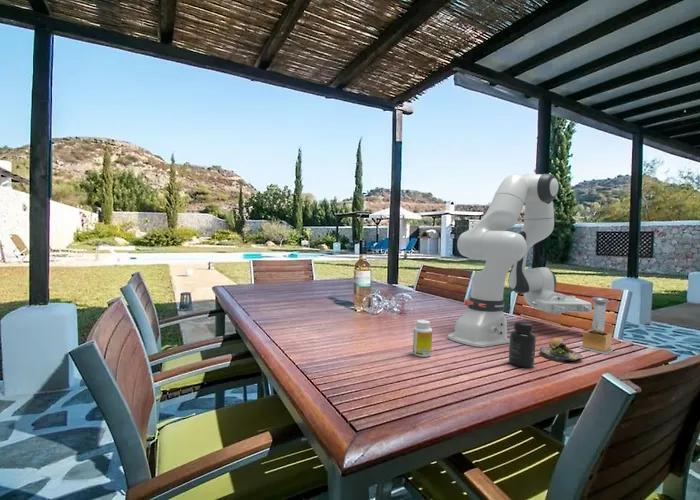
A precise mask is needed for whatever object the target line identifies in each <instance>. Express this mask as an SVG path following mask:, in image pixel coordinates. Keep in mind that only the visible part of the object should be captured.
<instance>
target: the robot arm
mask: <svg viewBox="0 0 700 500" xmlns="http://www.w3.org/2000/svg"><path fill="white" fill-rule="evenodd" d="M559 191H560V183H559V180H558V178H557V177H556V176H555V174H551V173H543V174H541V173H540V174H539V173H537V174H535V173H534V174H529V173H528V174H521V175H520V174H519V175H518V174H511V175H507V176H506V177H505V178H504V179H503V180H502V182H501V183H500V185H499V186H498V188H497V190H496V192H495V193H494V196H493V198H492V200H491V203H490V204H489V206H488V209H487V211H486V212H485V214H484V215H483V217H482V218H481V219H480V220H479V221H477V223H476V224H475V225H473V226H472V227H471V228H469V229H468V230H466V231H464V232H462V233H461V234H459V237H458V239H457V242H456V246H457V251H458V252H459V254H460V255H461V256H463V257H464V258H465V257H466V258H468V259H471V260H478V261H479V260H481V261H485V264H484V267H483V268H482V270H481V269H480V270H479V271H477V272H476V273H474V274H473V276H472V278H471V292H470V297H469V299H464V300H463V301H464V302H463V305H465V306H467V308H466V310H465V311H464V312H463V313H462V314H461V315H460V316H459V317H458V319H457V320H456V321H455V326H454V331H453V332H450V333H449V334H447V337H446V338H447V339H449V340H450V341H453V342H456V343H460V344H463V345H467V346H470V347H471V346H472V347H476V348H485V347H486V348H487V347H492V346H497V345H504V344H505V345H506V344H510V338H508V331H507V330H508V324H507V323H508V322H507V318H506V315H505V314H504V310H505V300H504V291H505V285H506V284H505V283H506V278H507V276H508V280H507V282H508V283H507V284H508V286H509V289H511V291H513V292H514V293H516V294H517V295H522V294H523V299H524V301H525V302H526V303H527V305H529V306H530V307H532V308H534V309H536V310H538V311H540V312H544V313H548V314H550V315H555V316H556V315H559V314H564V313H585V314H590V313H592V310H593V304H592V302H590V301H587V300H584V299H581V298H577V297H576V296H575V295H569V294H563V293H561V292H556V288H557V277H556V275H555V273H554V272H553V270H552V269H550V268H549V267H547V266H544V267H543V266H541V267H533V268H526V265H527V258H528V253H529V250H530V248H532V247H533V246H534V245H535V244H537V243H539V242H541V241H543V240H545V239H546V238H548V237H549V236H550V235H551V234H552V233H553V231H554V228H555V209H554V203H553V200H555V199H556V198H557V196H558V193H559ZM523 208H524V219H523V221H524V222H523V226H522V228H521V230H520V231H519V232H514V231H510V230H509V229H511V228H513V227H514V226H516V224H517V223H518V221H519V218H520V216H521V213H522V211H523ZM508 230H509V231H508ZM509 271H510V272H509ZM508 273H509V275H508Z"/></svg>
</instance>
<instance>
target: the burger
mask: <svg viewBox="0 0 700 500" xmlns="http://www.w3.org/2000/svg"><path fill="white" fill-rule="evenodd" d="M552 336H553V338H552V339H551V340H550V341H549V346H541V347H539V350H540V352H538V354H539V355H540V356H541V357H542V358H545V359H547V360H549V361H555V362H559V363H564V362H565V361H577V360H579V359H582V357H583V355H582V354H581V353H579V352H577V351H574V350H573V349H570V348H569V347H568V346H567V344H565V343H563V341H564V339H562V338H561V337H560V338H559V337H554V335H552Z"/></svg>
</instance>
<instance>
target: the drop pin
mask: <svg viewBox="0 0 700 500" xmlns="http://www.w3.org/2000/svg"><path fill="white" fill-rule="evenodd" d="M591 300H592V301H593V309H592V310H593V313H592V314H593V315H592V324H591V330H592V333H593V334H598V335H602V336H604V332H605V324H606V323H605V322H606V312H607V310H606V309H607V303H609V302H610V301H609V298H604V297H599V296H597V297H594V296H593V297H591Z"/></svg>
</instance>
